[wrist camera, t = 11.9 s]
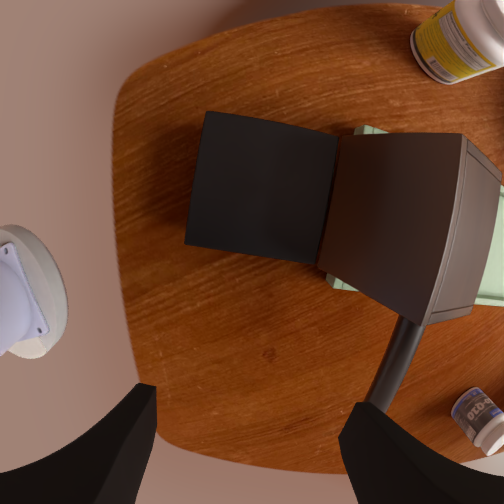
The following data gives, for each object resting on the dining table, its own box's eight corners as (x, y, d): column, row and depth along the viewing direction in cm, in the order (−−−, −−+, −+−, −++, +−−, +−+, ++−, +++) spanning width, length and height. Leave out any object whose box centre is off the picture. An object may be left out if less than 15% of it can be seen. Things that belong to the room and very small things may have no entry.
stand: (193, 233, 18) (183, 244, 14) (211, 123, 16) (205, 109, 13) (301, 250, 18) (315, 265, 15) (320, 144, 17) (339, 136, 14)
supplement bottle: (443, 30, 15) (515, -8, 5) (466, 86, 16) (550, 64, 7) (397, 25, 15) (470, -32, 5) (422, 85, 16) (515, 50, 7)
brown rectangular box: (355, 455, 10) (416, 424, 12) (462, 132, 7) (502, 172, 9) (287, 376, 17) (348, 365, 19) (342, 135, 14) (401, 160, 16)
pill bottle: (480, 379, 23) (520, 417, 15) (476, 402, 24) (511, 439, 16) (450, 401, 24) (488, 446, 15) (448, 422, 25) (481, 465, 16)
